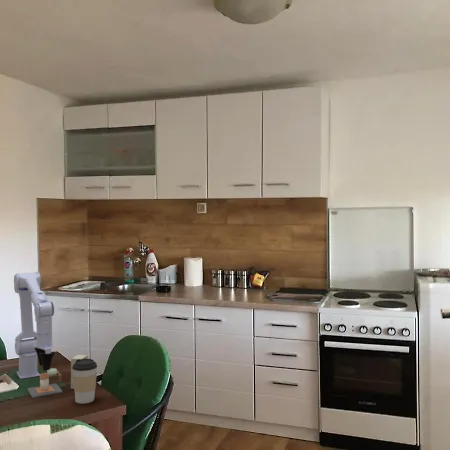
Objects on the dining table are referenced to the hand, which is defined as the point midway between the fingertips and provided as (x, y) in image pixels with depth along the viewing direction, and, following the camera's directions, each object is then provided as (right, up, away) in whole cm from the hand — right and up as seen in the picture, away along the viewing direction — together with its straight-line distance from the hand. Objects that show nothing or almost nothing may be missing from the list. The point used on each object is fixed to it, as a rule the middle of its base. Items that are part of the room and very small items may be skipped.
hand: (44, 367), depth 197 cm
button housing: (-1, -9, +11) cm, 15 cm away
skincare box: (+12, -10, +5) cm, 16 cm away
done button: (-1, -7, +11) cm, 14 cm away
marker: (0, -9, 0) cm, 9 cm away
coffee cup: (+18, -10, -8) cm, 22 cm away
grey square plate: (0, -9, 0) cm, 9 cm away
